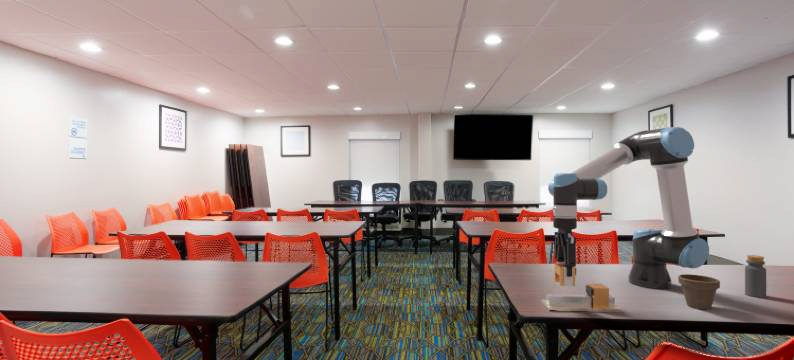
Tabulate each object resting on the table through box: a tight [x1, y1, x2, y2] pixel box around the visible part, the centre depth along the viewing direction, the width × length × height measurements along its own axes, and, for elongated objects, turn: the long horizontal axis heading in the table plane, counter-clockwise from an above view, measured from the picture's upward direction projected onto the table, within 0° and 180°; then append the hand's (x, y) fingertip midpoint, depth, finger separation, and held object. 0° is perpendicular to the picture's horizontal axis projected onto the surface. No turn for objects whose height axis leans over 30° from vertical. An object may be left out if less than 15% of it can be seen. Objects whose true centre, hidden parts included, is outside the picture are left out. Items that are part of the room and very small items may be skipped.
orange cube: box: [553, 262, 577, 287], centre depth 130 cm, size 6×6×6 cm
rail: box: [540, 283, 623, 313], centre depth 130 cm, size 24×9×8 cm, turn 86°
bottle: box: [744, 254, 767, 299], centre depth 141 cm, size 6×6×15 cm
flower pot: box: [677, 273, 721, 310], centre depth 130 cm, size 12×11×10 cm
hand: (564, 282), depth 130 cm, fingers closed on orange cube, 6 cm apart
